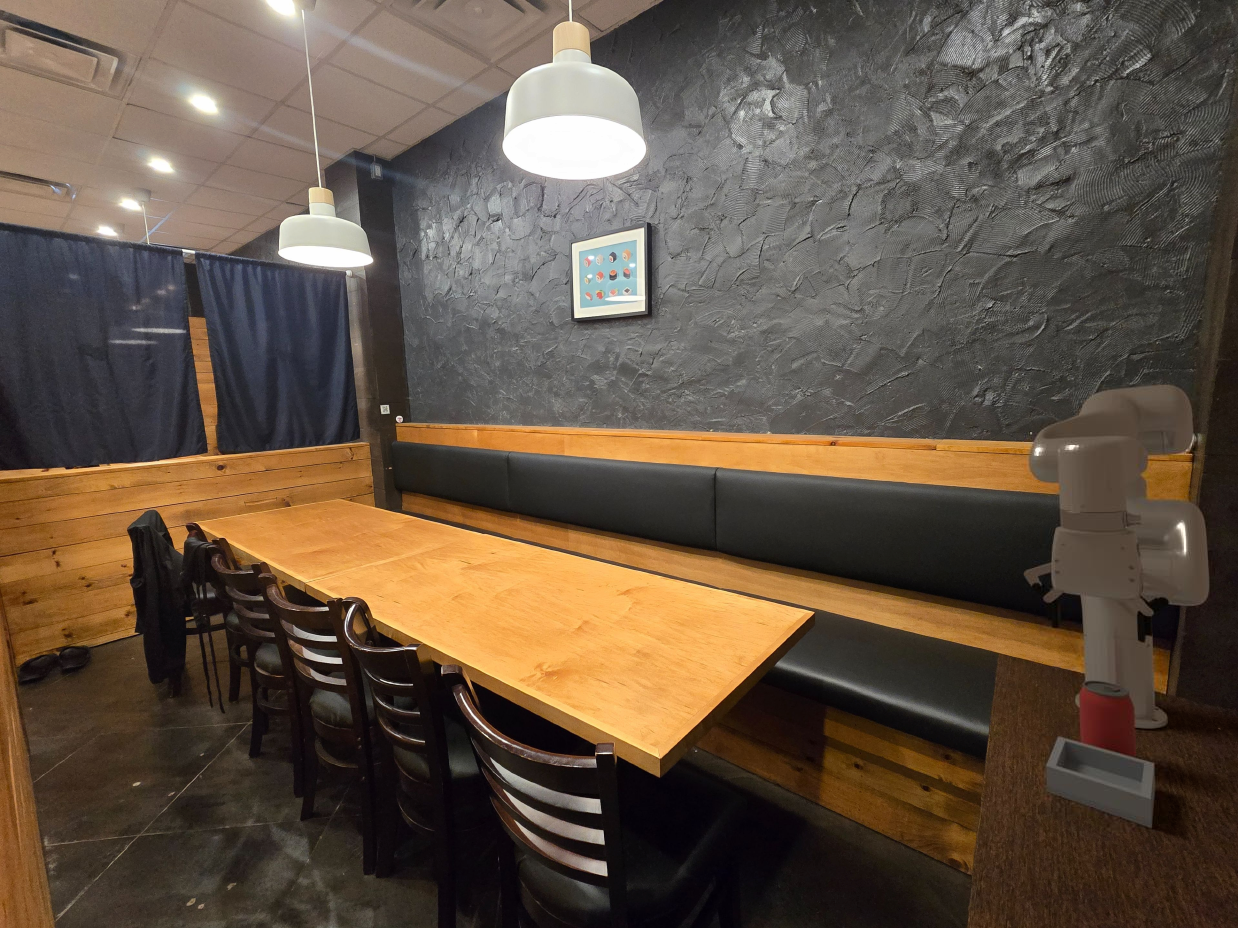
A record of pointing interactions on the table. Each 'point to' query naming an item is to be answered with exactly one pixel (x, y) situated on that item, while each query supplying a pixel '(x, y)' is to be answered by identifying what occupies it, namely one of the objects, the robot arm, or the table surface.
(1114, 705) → the beer can
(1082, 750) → the tray
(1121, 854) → the table surface
